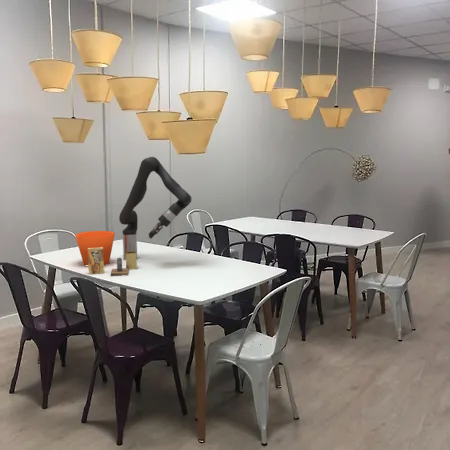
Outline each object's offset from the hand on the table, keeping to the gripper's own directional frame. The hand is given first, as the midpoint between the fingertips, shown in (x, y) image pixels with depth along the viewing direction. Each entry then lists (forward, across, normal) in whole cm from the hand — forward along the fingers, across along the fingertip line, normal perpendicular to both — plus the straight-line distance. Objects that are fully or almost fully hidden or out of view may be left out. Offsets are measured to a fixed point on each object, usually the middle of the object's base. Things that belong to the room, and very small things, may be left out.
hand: (149, 236), depth 304 cm
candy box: (+37, +8, -9) cm, 39 cm away
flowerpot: (+38, -18, -11) cm, 44 cm away
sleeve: (+22, 0, +6) cm, 23 cm away
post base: (+27, +12, +1) cm, 30 cm away
